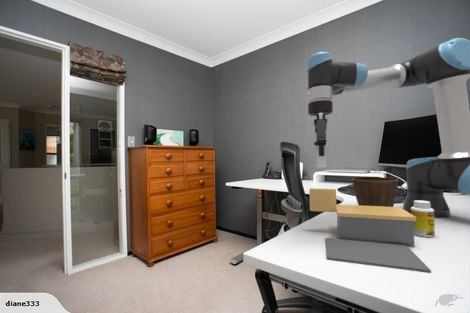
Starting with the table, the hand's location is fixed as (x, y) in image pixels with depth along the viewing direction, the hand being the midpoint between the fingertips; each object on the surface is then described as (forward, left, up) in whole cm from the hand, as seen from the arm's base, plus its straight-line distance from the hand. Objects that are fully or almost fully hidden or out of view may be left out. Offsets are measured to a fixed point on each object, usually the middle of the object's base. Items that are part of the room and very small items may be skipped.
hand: (321, 166), depth 73 cm
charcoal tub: (-14, -1, -21) cm, 25 cm away
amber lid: (-10, -1, -16) cm, 19 cm away
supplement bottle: (-29, -7, -22) cm, 37 cm away
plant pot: (-19, -20, -22) cm, 35 cm away
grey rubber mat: (-11, +13, -21) cm, 28 cm away
